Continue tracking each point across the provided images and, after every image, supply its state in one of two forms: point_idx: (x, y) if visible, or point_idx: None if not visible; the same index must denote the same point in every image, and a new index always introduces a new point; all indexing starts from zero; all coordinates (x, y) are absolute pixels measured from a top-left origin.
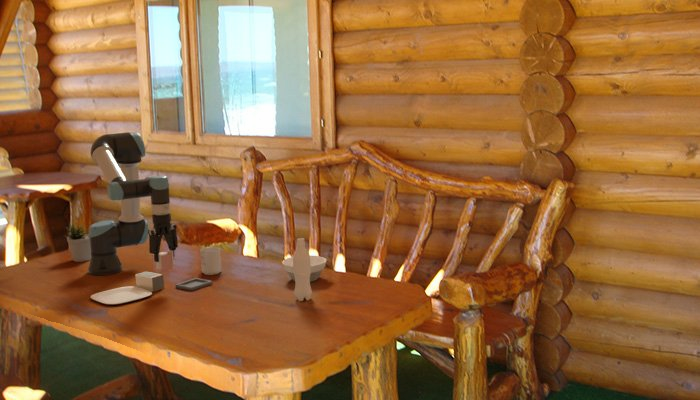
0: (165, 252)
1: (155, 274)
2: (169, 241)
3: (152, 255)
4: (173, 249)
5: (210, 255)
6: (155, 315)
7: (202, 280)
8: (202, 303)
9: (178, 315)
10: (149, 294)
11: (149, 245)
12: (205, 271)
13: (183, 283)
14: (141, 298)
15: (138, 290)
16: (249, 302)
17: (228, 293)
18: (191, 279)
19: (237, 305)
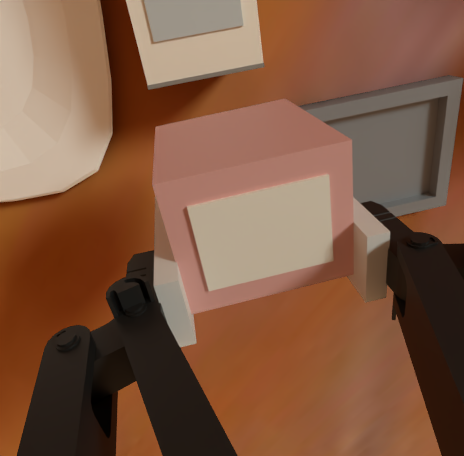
0: (328, 223)
1: (221, 7)
2: (427, 401)
3: (153, 187)
4: (392, 314)
5: None
6: (2, 412)
7: (439, 149)
8: (220, 388)
9: None
10: (78, 175)
11: (21, 448)
12: None
13: (346, 115)
14: (11, 200)
15: (53, 11)
16: (324, 447)
17: (361, 346)
18: (423, 88)
19: (282, 452)
